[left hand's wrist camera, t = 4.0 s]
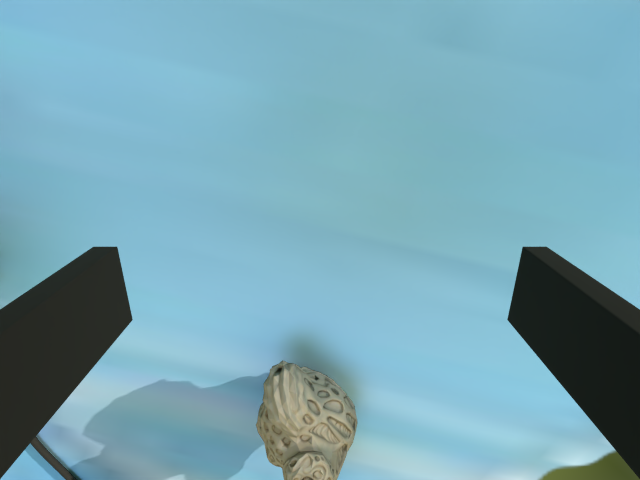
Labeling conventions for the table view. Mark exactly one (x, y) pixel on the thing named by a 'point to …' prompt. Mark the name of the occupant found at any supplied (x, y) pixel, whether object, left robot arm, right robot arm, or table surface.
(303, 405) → the teapot
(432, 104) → the table surface
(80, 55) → the table surface
